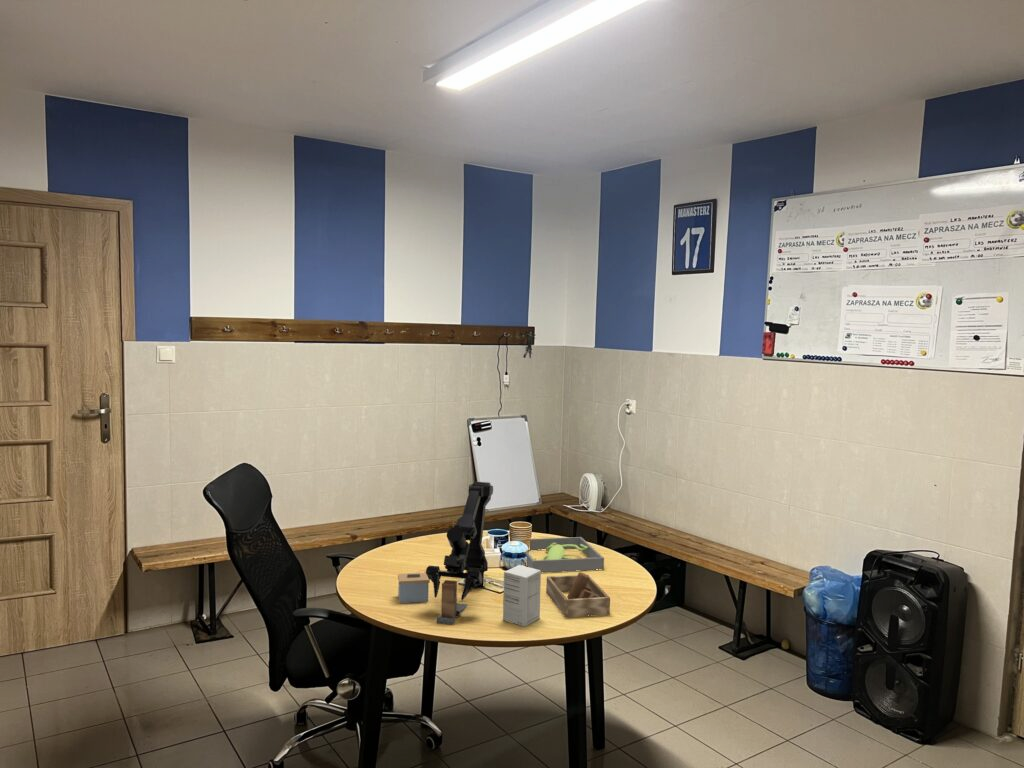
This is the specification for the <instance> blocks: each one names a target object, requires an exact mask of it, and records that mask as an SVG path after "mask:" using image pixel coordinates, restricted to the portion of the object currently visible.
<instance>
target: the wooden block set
mask: <svg viewBox="0 0 1024 768" xmlns="http://www.w3.org/2000/svg"><path fill="white" fill-rule="evenodd" d="M576 575H577V577H576V580H575V582H574V584H573V586H572V588H571V590H570V592H568V594H567V597H566V598H567V599H580V598H598V597H600V596H599V595H598V594H596V593H593V592H590V591H591V589H589V588H586V585H587V583H588V580H589V578H590V577H591V576H590V575H589V574H586V573H583V571H578V573H577V574H576ZM588 575H589V576H590V577H589V576H588Z"/></svg>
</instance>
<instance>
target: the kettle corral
mask: <svg viewBox="0 0 1024 768" xmlns="http://www.w3.org/2000/svg"><path fill="white" fill-rule="evenodd" d="M529 539H530V551H529V552H532V551H531V550H537V551H539V550H538V549H546V548H547V547H548V546H550V545H551V544H552V543H556V545H557V544H559V545H566V544H573V545H577V546H578V547H579V548H583V547H581V546H580V544H582V545H584V546H587V547H588V548H587V550H584V551H581V552H582V553H583V554H584V555H585V556H586V555H587V556H588V557H589V558H588V557H587V556H586V557H581V558H575V557H574V558H572V559H563V558H562V559H554V560H548V559H545V560H541V559H536V560H534V559H535V558H534V557H532V555H531V554H530V553H529V552H528V554H527V566H528V567H530V568H534V569H538V570H541V574H543V573H542V572H553V573H563V572H562V571H573V572H577V571H576V570H594V571H600V570H599V569H604V568H605V557H604V556H603V555H601V553H599V552H598V551H597V550H596V549H595V548H594V547H593V546H592V545H591V544H590V543H588V541H586V540H585V539H584V538H583V537H582V536H575V537H571V536H570V537H549V538H548V537H546V538H529ZM575 549H576V548H575V547H564V550H575ZM576 550H577V549H576ZM527 566H526V567H527ZM596 569H598V570H596Z"/></svg>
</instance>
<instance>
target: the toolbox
mask: <svg viewBox="0 0 1024 768" xmlns="http://www.w3.org/2000/svg"><path fill="white" fill-rule="evenodd" d="M397 579H398V588H397V589H398V594H397V595H398V596H399V597H398V596H397V597H398V600H399V601H400V602H399V604H411V603H410V602H413V603H425V602H429V586H430V581H431V580H430V579H429V578H428V576H427V574H426V572H415V573H412V572H411V573H398V574H397Z"/></svg>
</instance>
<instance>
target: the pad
mask: <svg viewBox="0 0 1024 768" xmlns="http://www.w3.org/2000/svg"><path fill="white" fill-rule="evenodd" d="M467 606H468V604H467V603H460V602H457V604H456V609H460V610H461V613H463V612H464V611H465V610H466V609H467Z"/></svg>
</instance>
